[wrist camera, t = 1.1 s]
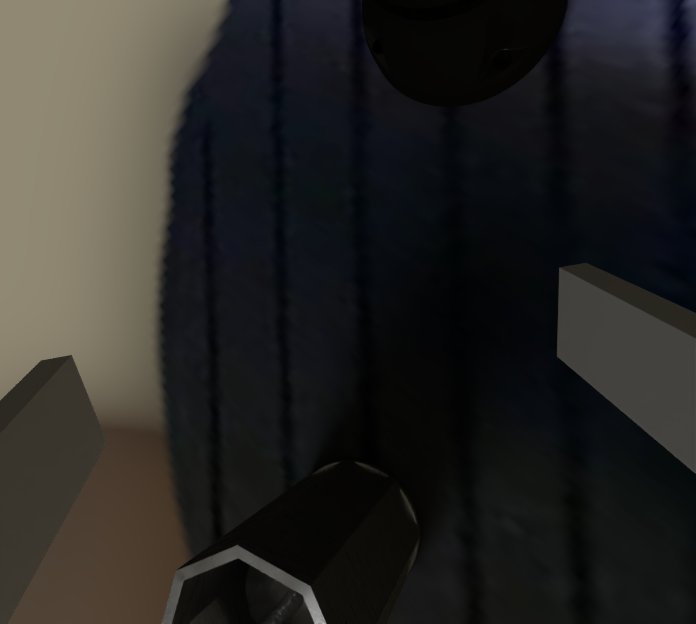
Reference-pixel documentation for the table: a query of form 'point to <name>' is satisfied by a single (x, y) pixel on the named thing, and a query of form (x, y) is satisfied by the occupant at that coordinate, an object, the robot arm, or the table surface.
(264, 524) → the press pot
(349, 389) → the table surface
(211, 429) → the table surface
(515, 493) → the table surface
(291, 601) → the plunger
